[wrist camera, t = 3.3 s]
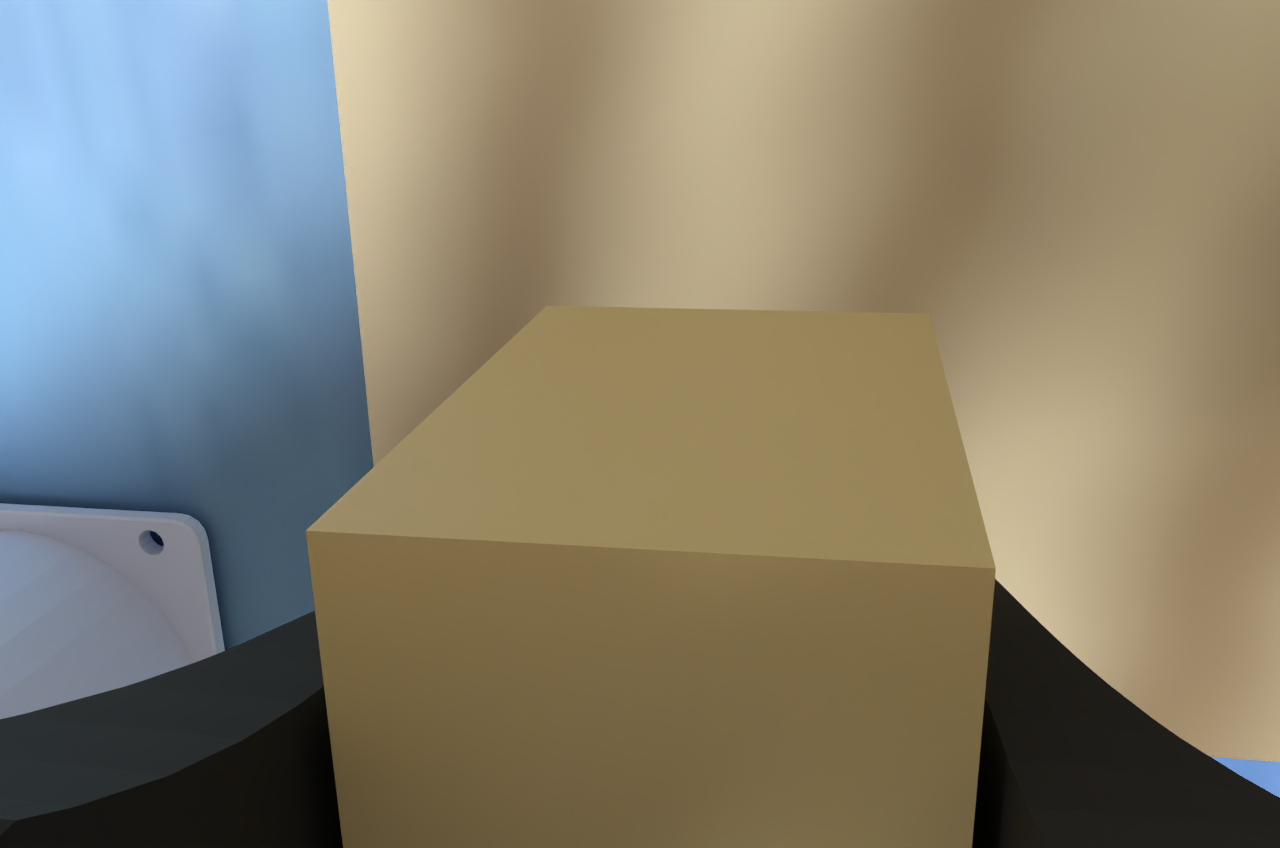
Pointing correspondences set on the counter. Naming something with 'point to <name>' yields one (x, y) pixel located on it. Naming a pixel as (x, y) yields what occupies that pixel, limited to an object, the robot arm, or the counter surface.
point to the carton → (665, 594)
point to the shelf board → (889, 257)
